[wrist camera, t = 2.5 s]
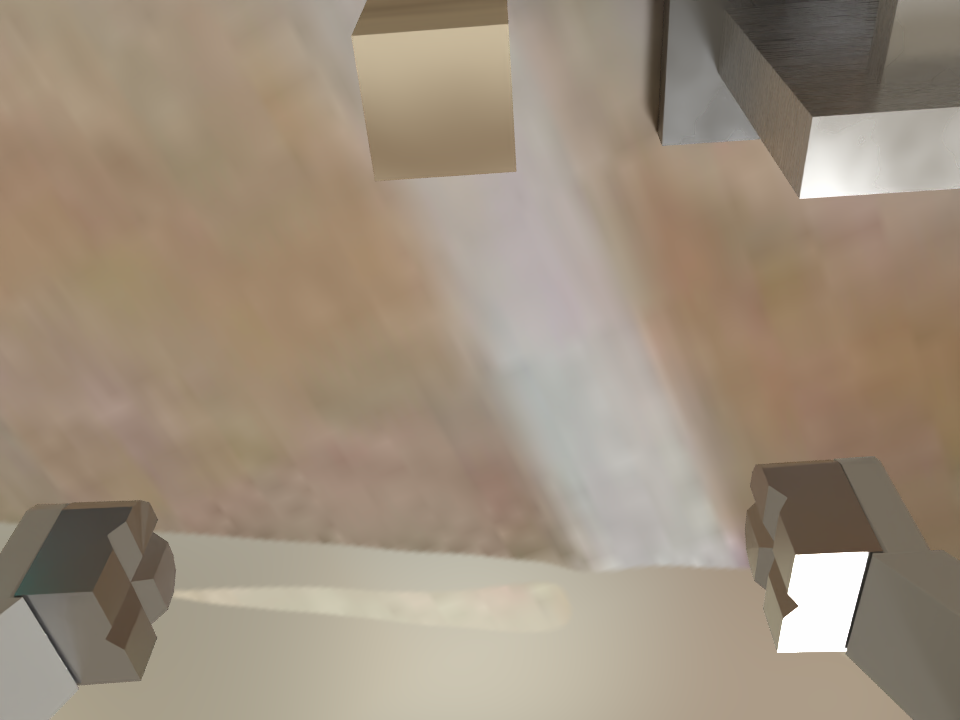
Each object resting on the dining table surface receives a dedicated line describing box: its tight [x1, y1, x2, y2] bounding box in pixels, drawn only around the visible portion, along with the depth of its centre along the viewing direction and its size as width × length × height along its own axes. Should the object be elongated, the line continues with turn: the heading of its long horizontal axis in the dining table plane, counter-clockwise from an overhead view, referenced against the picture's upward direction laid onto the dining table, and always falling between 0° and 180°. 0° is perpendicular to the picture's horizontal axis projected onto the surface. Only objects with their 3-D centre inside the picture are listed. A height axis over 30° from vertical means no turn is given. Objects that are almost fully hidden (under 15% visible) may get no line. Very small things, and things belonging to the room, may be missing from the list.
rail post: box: [351, 0, 516, 181], centre depth 28 cm, size 4×4×12 cm
